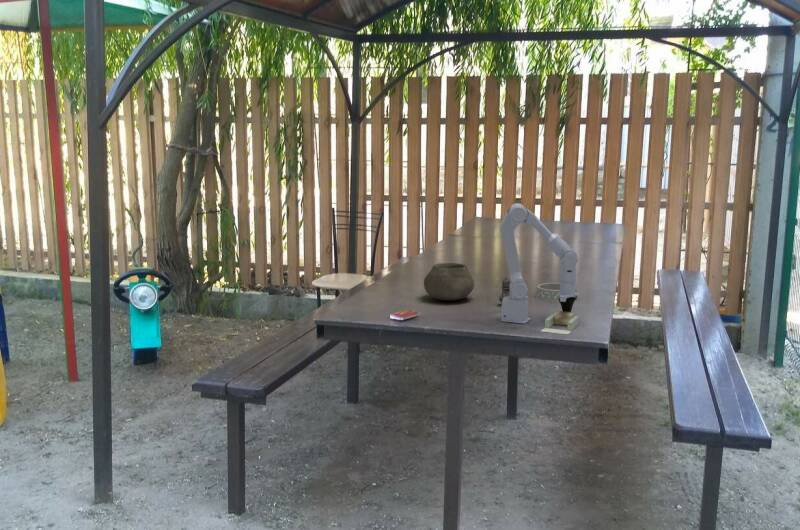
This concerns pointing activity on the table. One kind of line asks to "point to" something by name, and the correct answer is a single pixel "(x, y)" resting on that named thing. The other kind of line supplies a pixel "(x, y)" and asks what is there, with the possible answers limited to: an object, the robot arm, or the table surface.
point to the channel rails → (571, 323)
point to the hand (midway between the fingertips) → (566, 316)
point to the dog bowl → (549, 292)
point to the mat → (555, 331)
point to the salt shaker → (505, 290)
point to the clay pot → (449, 281)
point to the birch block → (563, 317)
